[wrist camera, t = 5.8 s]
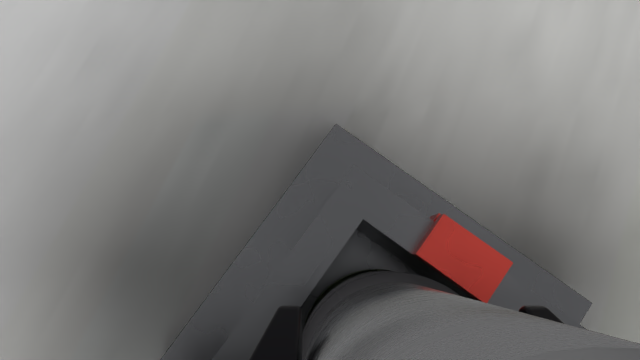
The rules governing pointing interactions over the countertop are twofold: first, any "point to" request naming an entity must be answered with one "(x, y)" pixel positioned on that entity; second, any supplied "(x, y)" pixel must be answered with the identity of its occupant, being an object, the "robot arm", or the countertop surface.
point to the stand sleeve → (360, 252)
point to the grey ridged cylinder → (437, 326)
